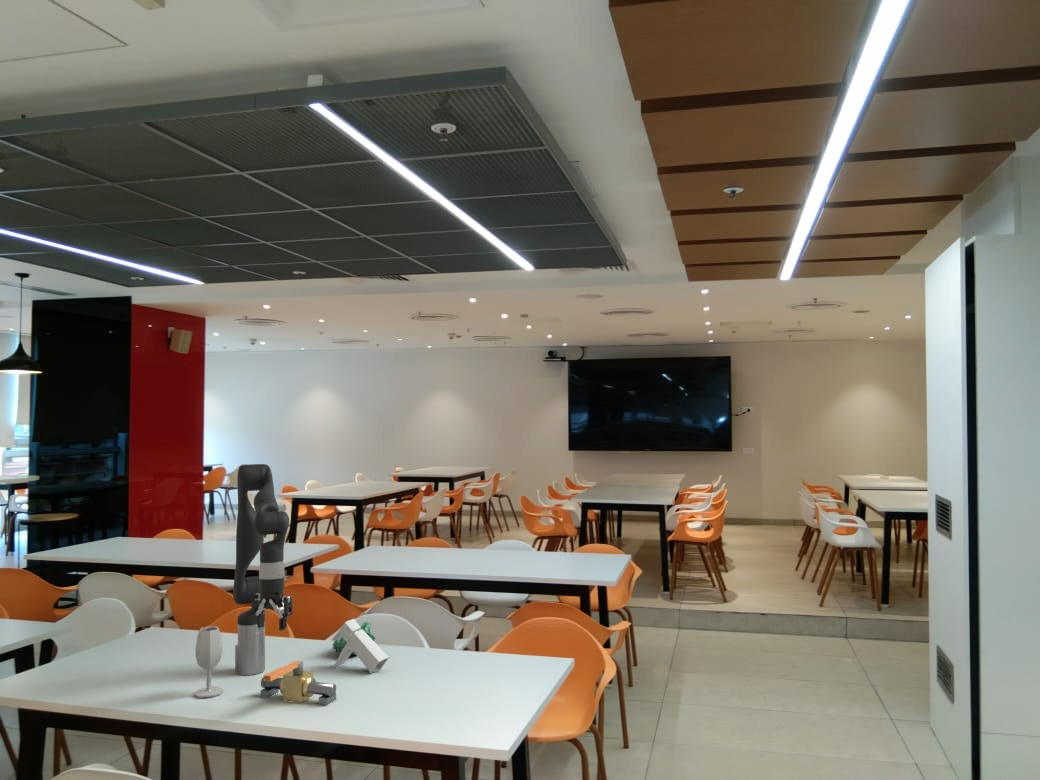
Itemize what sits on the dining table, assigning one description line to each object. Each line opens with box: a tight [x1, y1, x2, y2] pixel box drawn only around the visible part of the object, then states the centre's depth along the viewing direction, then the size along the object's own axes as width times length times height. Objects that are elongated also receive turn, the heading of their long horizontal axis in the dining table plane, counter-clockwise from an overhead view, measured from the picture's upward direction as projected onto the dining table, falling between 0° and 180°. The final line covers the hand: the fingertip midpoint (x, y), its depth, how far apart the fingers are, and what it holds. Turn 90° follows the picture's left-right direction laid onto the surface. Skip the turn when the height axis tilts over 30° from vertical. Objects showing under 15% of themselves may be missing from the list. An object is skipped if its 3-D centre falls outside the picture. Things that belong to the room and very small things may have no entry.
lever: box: [263, 660, 304, 681], centre depth 233 cm, size 17×3×4 cm, turn 160°
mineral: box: [332, 621, 376, 656], centre depth 288 cm, size 18×16×10 cm
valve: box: [260, 669, 337, 706], centre depth 239 cm, size 26×6×8 cm, turn 70°
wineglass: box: [194, 625, 224, 699], centre depth 245 cm, size 9×9×21 cm
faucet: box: [332, 618, 390, 674], centre depth 268 cm, size 6×16×20 cm
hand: (271, 628), depth 233 cm, fingers open, 8 cm apart
